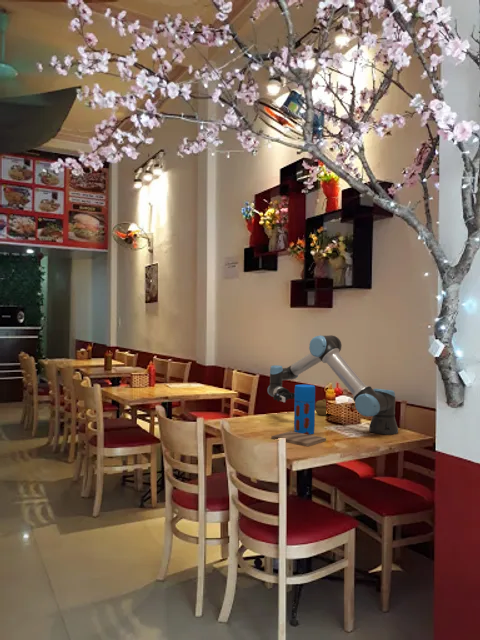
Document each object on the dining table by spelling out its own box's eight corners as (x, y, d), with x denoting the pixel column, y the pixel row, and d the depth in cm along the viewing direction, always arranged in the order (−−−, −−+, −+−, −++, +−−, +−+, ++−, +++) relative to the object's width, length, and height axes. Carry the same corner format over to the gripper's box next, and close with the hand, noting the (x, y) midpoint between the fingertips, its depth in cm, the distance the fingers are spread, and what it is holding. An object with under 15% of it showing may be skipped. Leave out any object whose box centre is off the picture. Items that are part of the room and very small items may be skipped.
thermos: (316, 434, 273) (317, 387, 273) (296, 434, 272) (296, 387, 272) (311, 430, 284) (312, 384, 284) (292, 430, 283) (293, 384, 283)
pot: (331, 413, 336) (331, 397, 336) (335, 416, 324) (335, 400, 324) (313, 413, 336) (313, 397, 336) (316, 416, 324) (316, 400, 324)
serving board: (325, 441, 259) (326, 438, 259) (307, 446, 248) (307, 443, 248) (290, 433, 274) (290, 431, 274) (271, 438, 263) (271, 435, 263)
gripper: (300, 399, 313) (316, 405, 292) (261, 400, 305) (274, 407, 285) (301, 386, 313) (316, 392, 292) (262, 387, 305) (275, 393, 285)
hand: (296, 399), depth 289 cm, fingers open, 13 cm apart
